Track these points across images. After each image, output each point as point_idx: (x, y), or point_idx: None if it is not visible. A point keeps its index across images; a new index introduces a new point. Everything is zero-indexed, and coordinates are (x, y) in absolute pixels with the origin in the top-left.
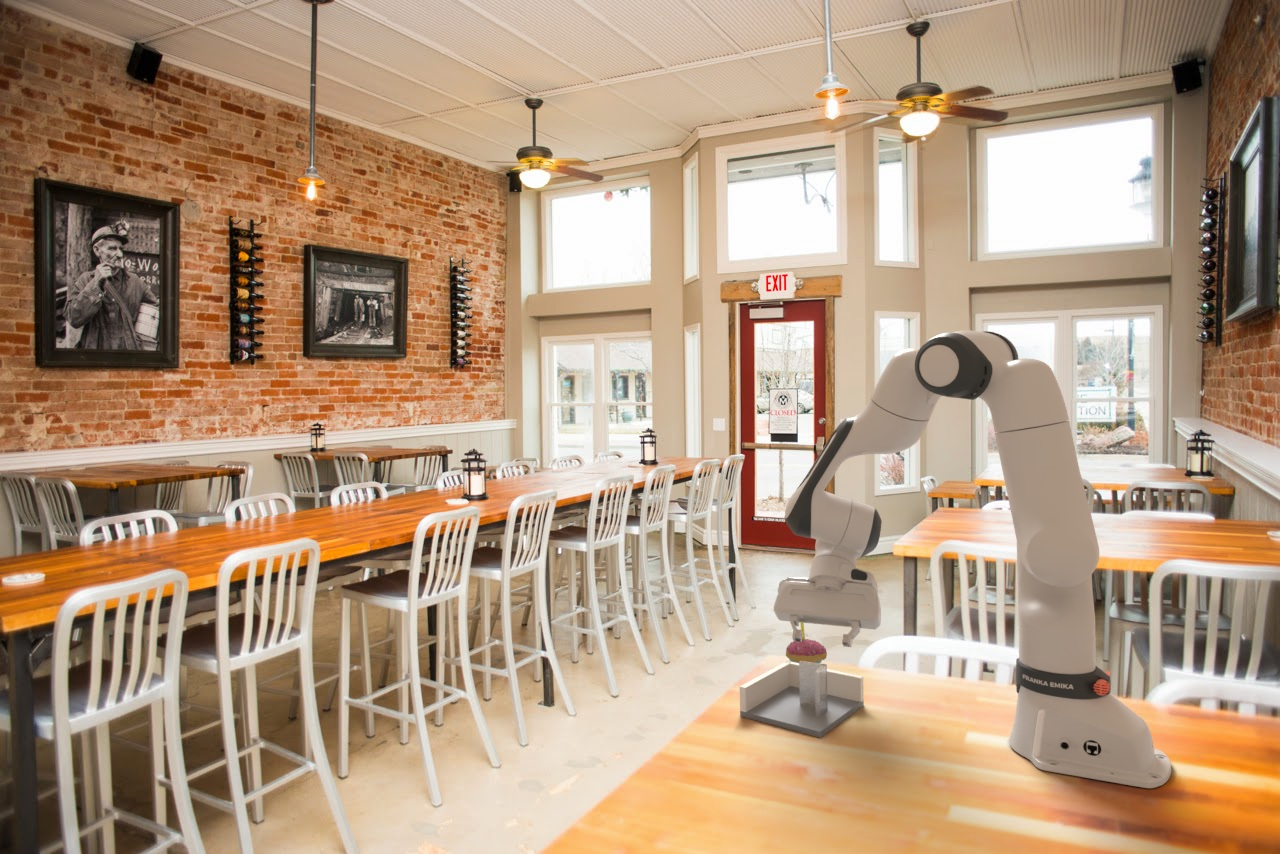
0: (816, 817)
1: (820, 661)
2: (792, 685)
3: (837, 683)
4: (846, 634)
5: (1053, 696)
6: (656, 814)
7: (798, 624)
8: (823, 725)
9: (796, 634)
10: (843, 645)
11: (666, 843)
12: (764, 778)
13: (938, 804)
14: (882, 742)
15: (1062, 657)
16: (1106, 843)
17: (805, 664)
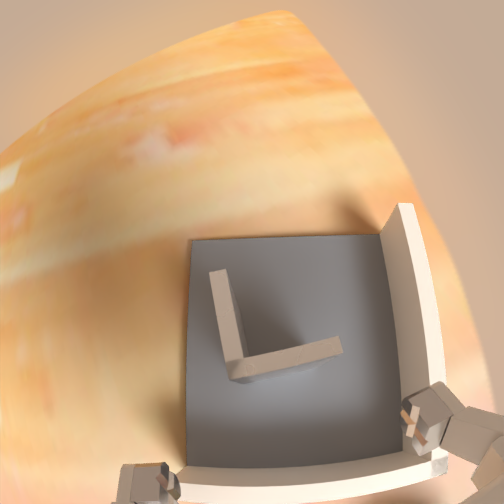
0: (129, 87)
1: None
2: (396, 452)
3: (255, 477)
4: (140, 499)
5: None
6: (262, 33)
7: (475, 477)
8: (199, 273)
9: (431, 398)
10: (171, 473)
11: (228, 24)
12: (210, 101)
13: (23, 176)
14: (88, 297)
15: None
16: None
17: (310, 343)
